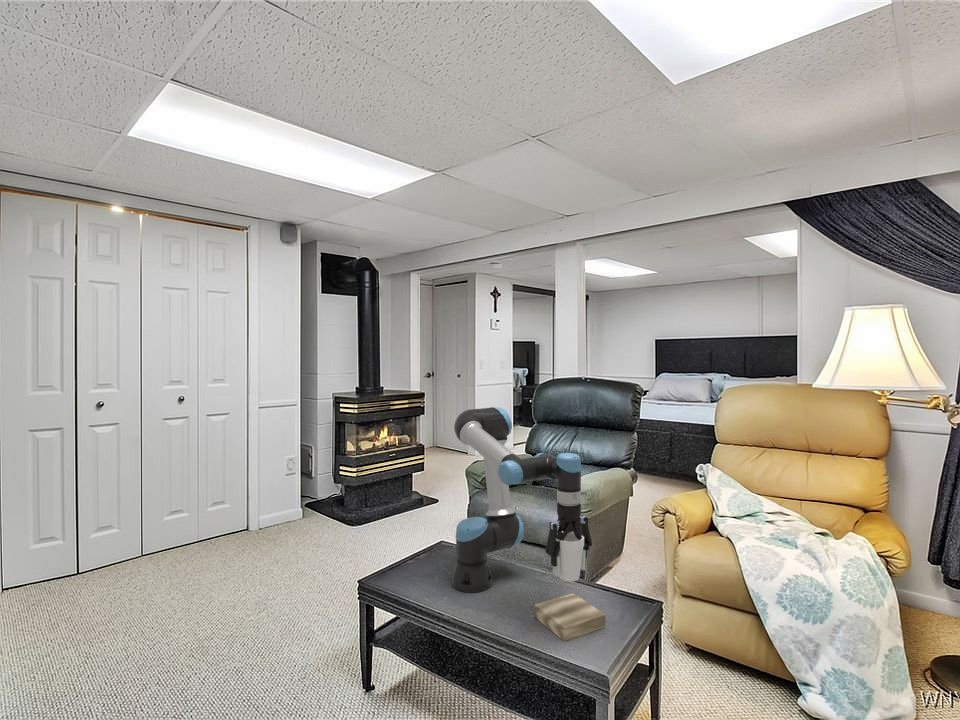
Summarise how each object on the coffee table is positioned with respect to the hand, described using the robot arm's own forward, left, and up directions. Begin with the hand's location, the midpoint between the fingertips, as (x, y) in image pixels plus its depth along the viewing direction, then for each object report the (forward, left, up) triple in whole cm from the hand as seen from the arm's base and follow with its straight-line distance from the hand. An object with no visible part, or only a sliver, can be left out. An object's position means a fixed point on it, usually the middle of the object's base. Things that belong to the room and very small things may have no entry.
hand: (569, 572), depth 167 cm
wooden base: (0, 0, -16) cm, 16 cm away
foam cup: (0, 0, -2) cm, 2 cm away
